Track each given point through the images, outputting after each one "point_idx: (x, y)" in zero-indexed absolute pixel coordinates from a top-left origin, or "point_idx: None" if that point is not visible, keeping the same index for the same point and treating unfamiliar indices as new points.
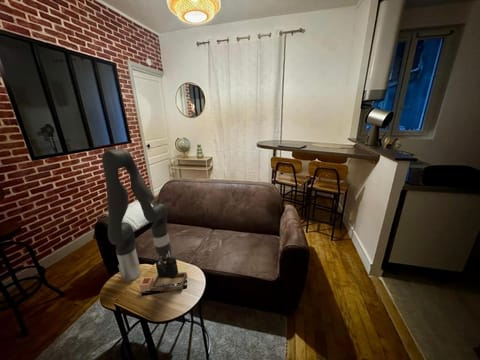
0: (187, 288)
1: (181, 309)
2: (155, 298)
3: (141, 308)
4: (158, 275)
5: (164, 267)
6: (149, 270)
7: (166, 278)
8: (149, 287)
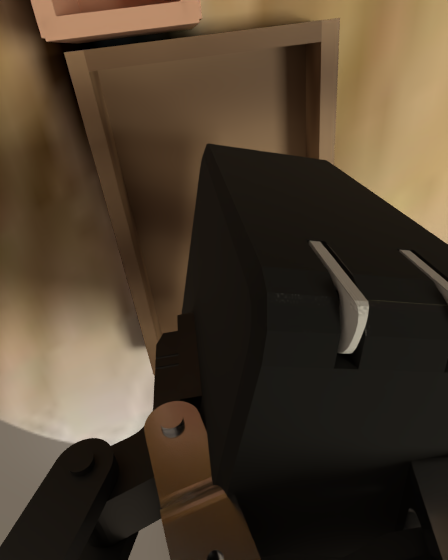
0: None
1: (9, 404)
2: (21, 161)
3: None
4: (205, 148)
5: (89, 550)
6: None
7: (279, 153)
8: (62, 41)
